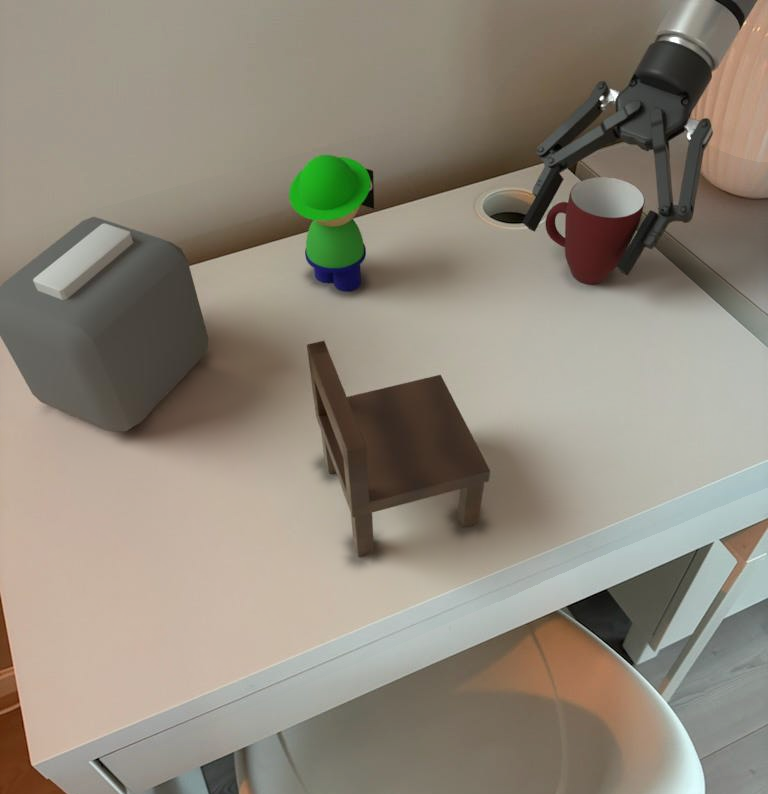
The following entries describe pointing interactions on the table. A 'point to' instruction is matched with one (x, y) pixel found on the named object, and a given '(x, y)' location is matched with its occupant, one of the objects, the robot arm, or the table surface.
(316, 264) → the toy
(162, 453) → the table surface
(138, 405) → the alarm clock
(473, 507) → the chair
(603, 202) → the mug
